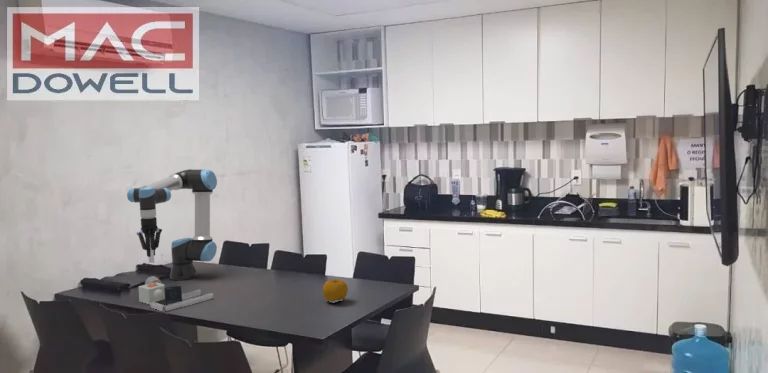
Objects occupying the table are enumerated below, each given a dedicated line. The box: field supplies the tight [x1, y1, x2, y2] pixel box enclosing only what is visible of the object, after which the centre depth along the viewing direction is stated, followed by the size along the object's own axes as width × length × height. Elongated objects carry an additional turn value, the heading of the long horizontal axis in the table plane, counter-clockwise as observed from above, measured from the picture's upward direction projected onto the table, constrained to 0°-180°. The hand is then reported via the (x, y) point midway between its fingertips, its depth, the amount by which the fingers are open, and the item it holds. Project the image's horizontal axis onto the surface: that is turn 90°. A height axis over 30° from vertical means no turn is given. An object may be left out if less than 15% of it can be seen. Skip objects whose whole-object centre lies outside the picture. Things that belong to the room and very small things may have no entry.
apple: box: [322, 278, 349, 301], centre depth 293 cm, size 13×13×11 cm
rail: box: [149, 288, 214, 313], centre depth 296 cm, size 28×12×3 cm, turn 141°
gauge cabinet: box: [137, 282, 165, 306], centre depth 300 cm, size 10×10×8 cm
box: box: [164, 282, 183, 305], centre depth 292 cm, size 8×6×11 cm
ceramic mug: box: [144, 275, 163, 285], centre depth 319 cm, size 11×8×8 cm
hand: (151, 262), depth 299 cm, fingers closed
